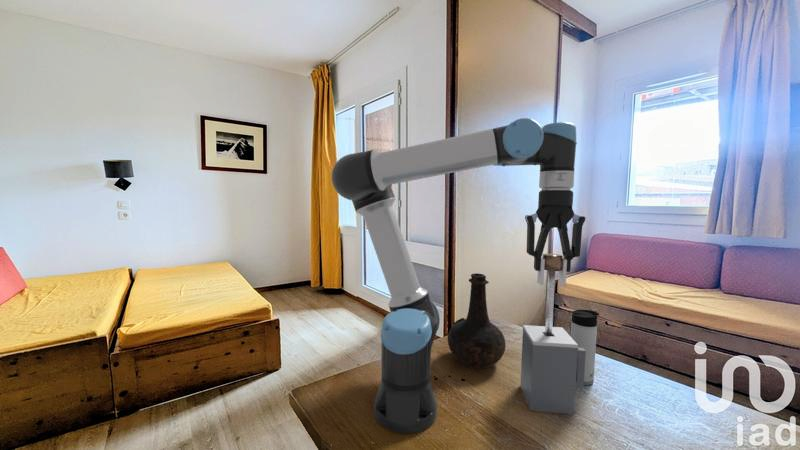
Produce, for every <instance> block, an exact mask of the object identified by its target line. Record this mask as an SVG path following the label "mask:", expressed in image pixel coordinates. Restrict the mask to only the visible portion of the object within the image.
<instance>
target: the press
mask: <svg viewBox="0 0 800 450" xmlns="http://www.w3.org/2000/svg"><path fill="white" fill-rule="evenodd" d="M545 326H546V325H542V326H541V325H531V324H530V325H529V324H528V325H527V324H526V325H525V324H524V325H522V341H521V343H522V344H521V345H522V346H521V364H520V366H521V367H520V388H521V392H522V393H523V395H524V398H525V401H526V404H527V406H528V409H529V410H530V411H535V412H536V411H537V412H546V413H556V414H558V413H559V414H567V415H574V414H575V400H576V389H577V390H584V388H585V387H584V386H585V385H584V371H585V355H586V351H585V350H584V348H578V344H577V343H576V342H575V341H574V340H573V339H572V338H571V334H569V333H568V332H567V330H565V328H564V327H562V326H561V327H559V326H553V327H552V336H545Z"/></svg>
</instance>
